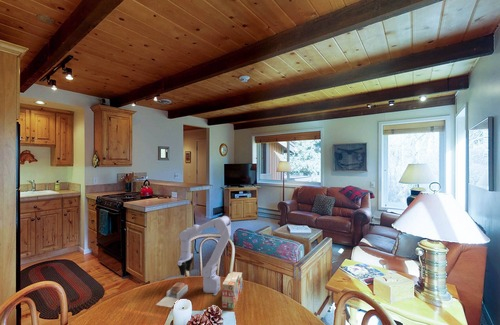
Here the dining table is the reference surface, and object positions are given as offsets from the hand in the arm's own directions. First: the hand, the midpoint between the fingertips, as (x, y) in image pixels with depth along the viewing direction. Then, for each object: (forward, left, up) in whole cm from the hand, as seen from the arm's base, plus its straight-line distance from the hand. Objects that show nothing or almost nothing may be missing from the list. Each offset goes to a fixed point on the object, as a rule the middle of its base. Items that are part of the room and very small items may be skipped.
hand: (185, 272), depth 136 cm
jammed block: (0, +8, -7) cm, 11 cm away
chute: (0, +13, -8) cm, 15 cm away
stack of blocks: (-31, +3, -9) cm, 33 cm away
